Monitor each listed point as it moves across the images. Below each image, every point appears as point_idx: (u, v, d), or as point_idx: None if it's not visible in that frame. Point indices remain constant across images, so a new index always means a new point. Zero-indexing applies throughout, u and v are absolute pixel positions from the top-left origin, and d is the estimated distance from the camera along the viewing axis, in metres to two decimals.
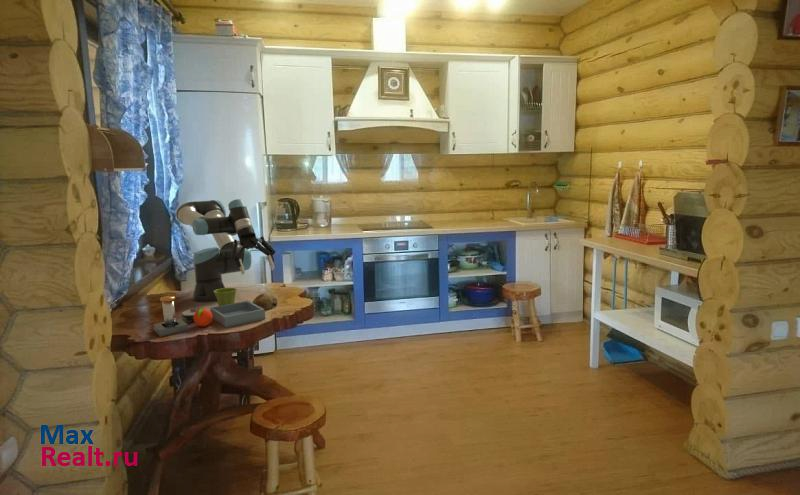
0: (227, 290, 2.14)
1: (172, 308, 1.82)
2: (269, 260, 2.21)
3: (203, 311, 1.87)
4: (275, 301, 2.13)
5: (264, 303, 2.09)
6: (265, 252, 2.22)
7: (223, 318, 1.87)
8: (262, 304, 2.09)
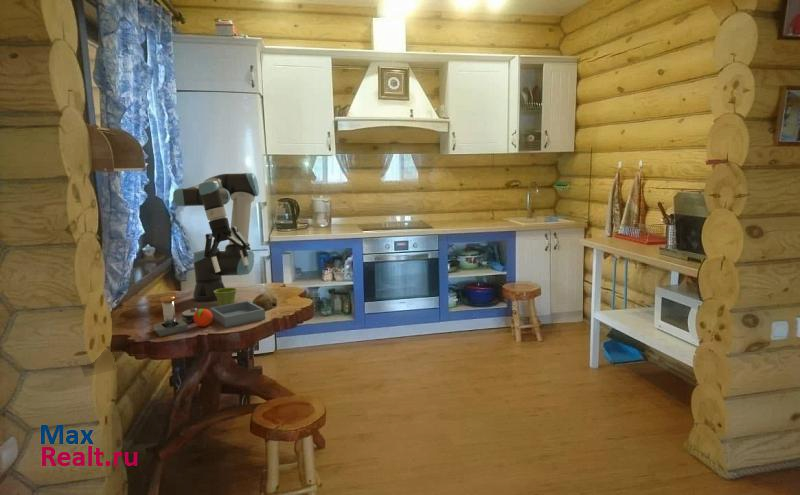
0: (227, 290, 2.14)
1: (172, 308, 1.82)
2: None
3: (203, 311, 1.87)
4: (275, 301, 2.13)
5: (264, 303, 2.09)
6: None
7: (223, 318, 1.87)
8: (262, 304, 2.08)
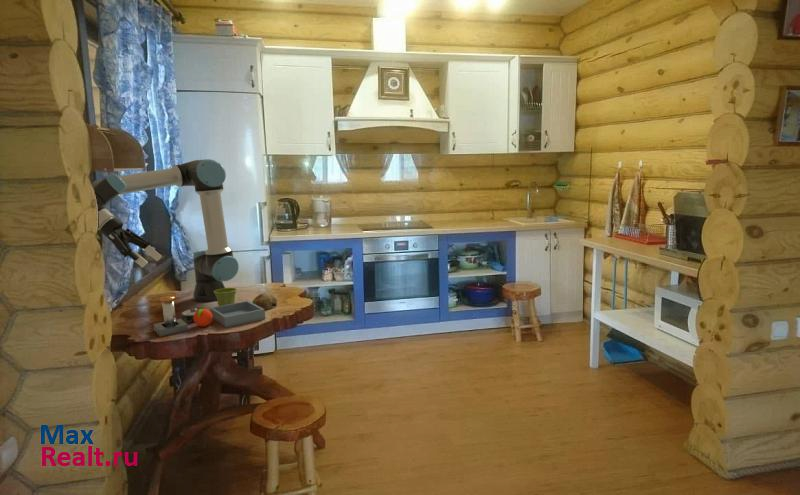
0: (227, 290, 2.14)
1: (172, 308, 1.82)
2: None
3: (203, 311, 1.87)
4: (275, 301, 2.13)
5: (264, 303, 2.09)
6: None
7: (223, 318, 1.87)
8: (262, 304, 2.08)
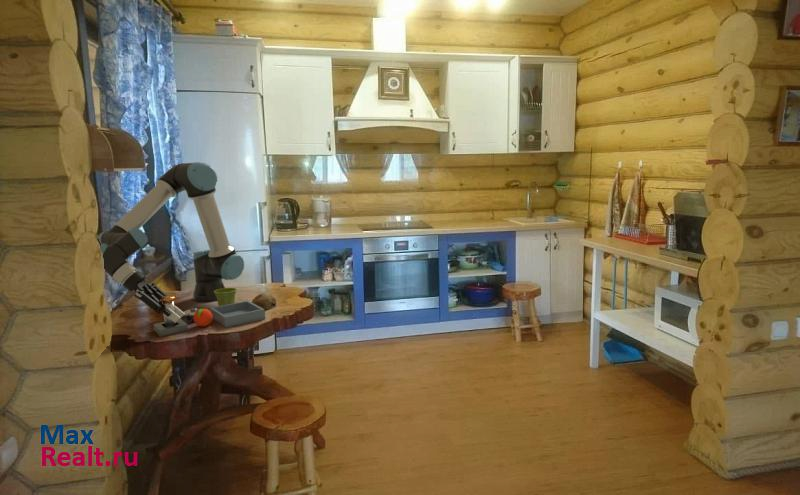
0: (227, 290, 2.14)
1: (172, 308, 1.82)
2: None
3: (203, 311, 1.87)
4: (274, 301, 2.13)
5: (263, 303, 2.09)
6: None
7: (223, 318, 1.87)
8: (261, 304, 2.08)
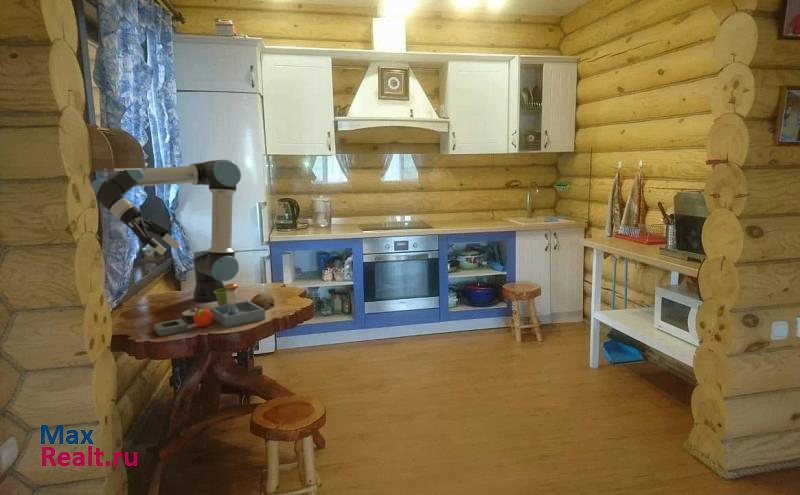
0: None
1: (235, 295, 1.95)
2: None
3: (203, 311, 1.87)
4: (272, 301, 2.13)
5: (261, 303, 2.08)
6: None
7: (223, 318, 1.87)
8: (259, 305, 2.08)
